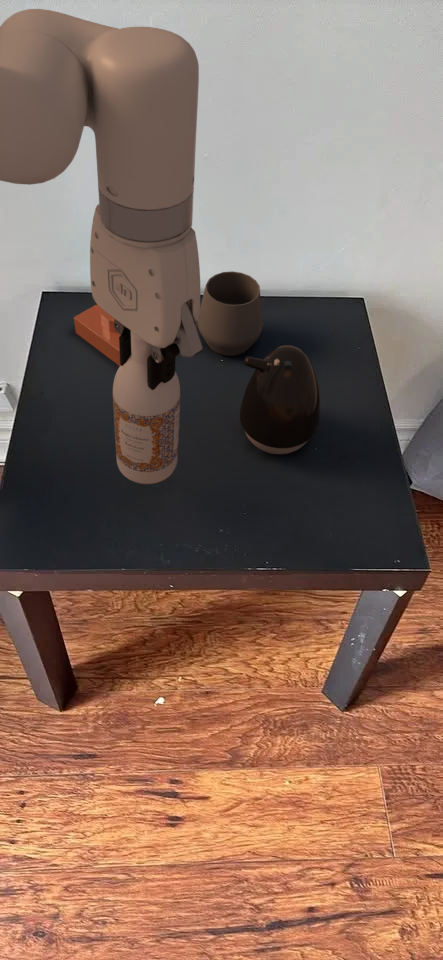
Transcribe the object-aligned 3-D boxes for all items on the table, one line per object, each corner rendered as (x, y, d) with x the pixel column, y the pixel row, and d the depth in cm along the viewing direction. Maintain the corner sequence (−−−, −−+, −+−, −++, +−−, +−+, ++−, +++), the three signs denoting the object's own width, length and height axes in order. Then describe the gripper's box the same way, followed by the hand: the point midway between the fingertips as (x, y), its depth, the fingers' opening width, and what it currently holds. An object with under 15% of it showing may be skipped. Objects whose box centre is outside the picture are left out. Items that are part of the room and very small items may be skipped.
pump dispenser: (232, 410, 103) (240, 324, 91) (306, 407, 104) (324, 322, 92) (240, 468, 96) (250, 383, 84) (320, 464, 97) (340, 380, 86)
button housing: (120, 367, 107) (119, 340, 103) (75, 333, 111) (72, 306, 107) (171, 335, 111) (171, 308, 108) (126, 303, 115) (124, 276, 111)
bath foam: (106, 474, 85) (96, 339, 69) (132, 432, 89) (128, 296, 73) (162, 494, 83) (165, 361, 68) (186, 451, 88) (194, 316, 72)
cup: (185, 349, 110) (186, 294, 102) (216, 314, 115) (219, 259, 107) (242, 373, 107) (247, 318, 99) (271, 336, 112) (278, 281, 105)
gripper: (44, 178, 62) (65, 347, 76) (185, 271, 55) (178, 436, 70) (113, 148, 65) (120, 315, 80) (252, 233, 59) (233, 397, 73)
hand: (147, 370), depth 75 cm, fingers closed on bath foam, 3 cm apart
